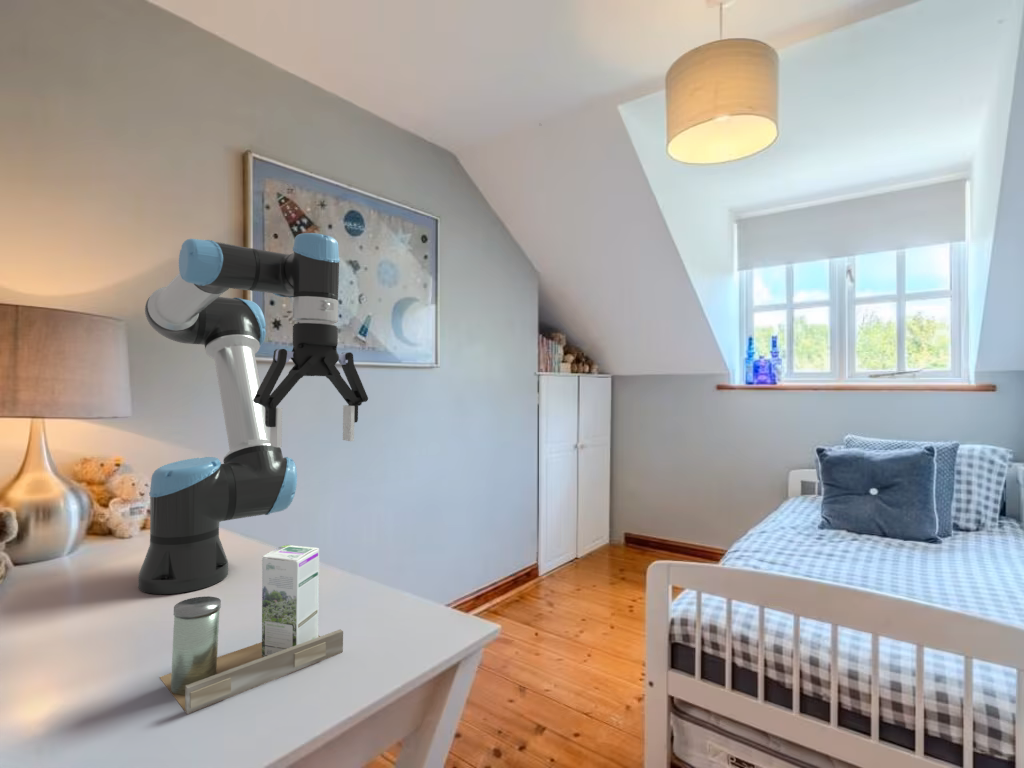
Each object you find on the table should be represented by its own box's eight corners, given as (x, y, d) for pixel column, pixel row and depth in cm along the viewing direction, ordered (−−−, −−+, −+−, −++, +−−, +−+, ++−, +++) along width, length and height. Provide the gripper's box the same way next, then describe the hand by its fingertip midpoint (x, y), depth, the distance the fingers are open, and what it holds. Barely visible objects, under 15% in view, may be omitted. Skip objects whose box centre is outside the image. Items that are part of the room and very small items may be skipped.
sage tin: (161, 685, 68) (165, 605, 68) (204, 669, 72) (207, 593, 73) (182, 699, 65) (186, 615, 65) (225, 681, 70) (228, 602, 70)
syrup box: (319, 643, 80) (321, 545, 80) (295, 664, 74) (297, 558, 74) (285, 638, 81) (287, 542, 81) (259, 658, 75) (260, 555, 75)
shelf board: (159, 686, 70) (159, 654, 70) (306, 634, 85) (306, 607, 85) (187, 725, 63) (188, 689, 63) (343, 660, 78) (344, 631, 77)
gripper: (251, 315, 84) (250, 451, 84) (387, 328, 102) (385, 440, 103) (233, 318, 89) (231, 446, 89) (365, 330, 107) (364, 436, 108)
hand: (313, 443), depth 96 cm, fingers open, 13 cm apart
